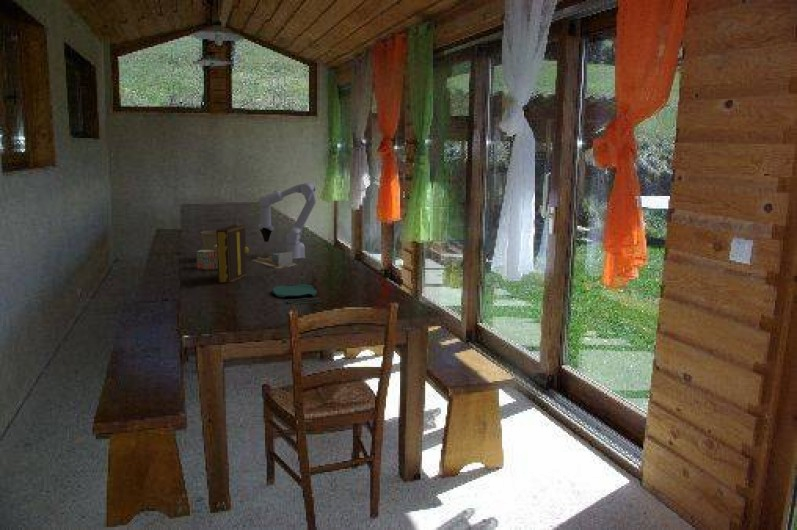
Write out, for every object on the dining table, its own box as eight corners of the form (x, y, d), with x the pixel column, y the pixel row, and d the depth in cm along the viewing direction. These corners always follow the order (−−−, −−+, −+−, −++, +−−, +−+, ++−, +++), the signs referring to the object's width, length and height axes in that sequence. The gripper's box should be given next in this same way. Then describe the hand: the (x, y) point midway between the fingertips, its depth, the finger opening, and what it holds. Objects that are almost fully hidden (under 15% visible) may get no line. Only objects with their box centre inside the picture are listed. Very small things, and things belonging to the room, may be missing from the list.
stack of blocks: (197, 269, 330) (195, 245, 328) (200, 267, 336) (199, 243, 334) (238, 269, 330) (237, 246, 328) (241, 267, 337) (240, 244, 334)
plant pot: (225, 263, 347) (224, 234, 344) (198, 262, 347) (196, 233, 344) (233, 258, 361) (232, 230, 358) (207, 257, 362) (205, 229, 359)
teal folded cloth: (312, 287, 293) (312, 282, 292) (326, 304, 265) (326, 299, 264) (268, 290, 286) (268, 285, 286) (278, 308, 259) (278, 302, 258)
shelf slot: (273, 258, 361) (273, 245, 360) (297, 265, 342) (297, 251, 340) (250, 261, 352) (250, 247, 351) (274, 268, 333) (273, 254, 331)
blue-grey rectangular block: (278, 262, 347) (277, 253, 346) (287, 264, 339) (287, 255, 338) (272, 262, 345) (272, 253, 344) (281, 265, 337) (281, 256, 336)
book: (231, 283, 298) (229, 230, 293) (214, 282, 299) (212, 229, 295) (251, 274, 319) (250, 224, 314) (235, 273, 321) (233, 223, 316)
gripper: (253, 216, 362) (254, 240, 364) (265, 219, 351) (266, 243, 353) (264, 216, 366) (265, 239, 369) (277, 218, 355) (277, 242, 358)
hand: (266, 241), depth 361 cm, fingers closed
